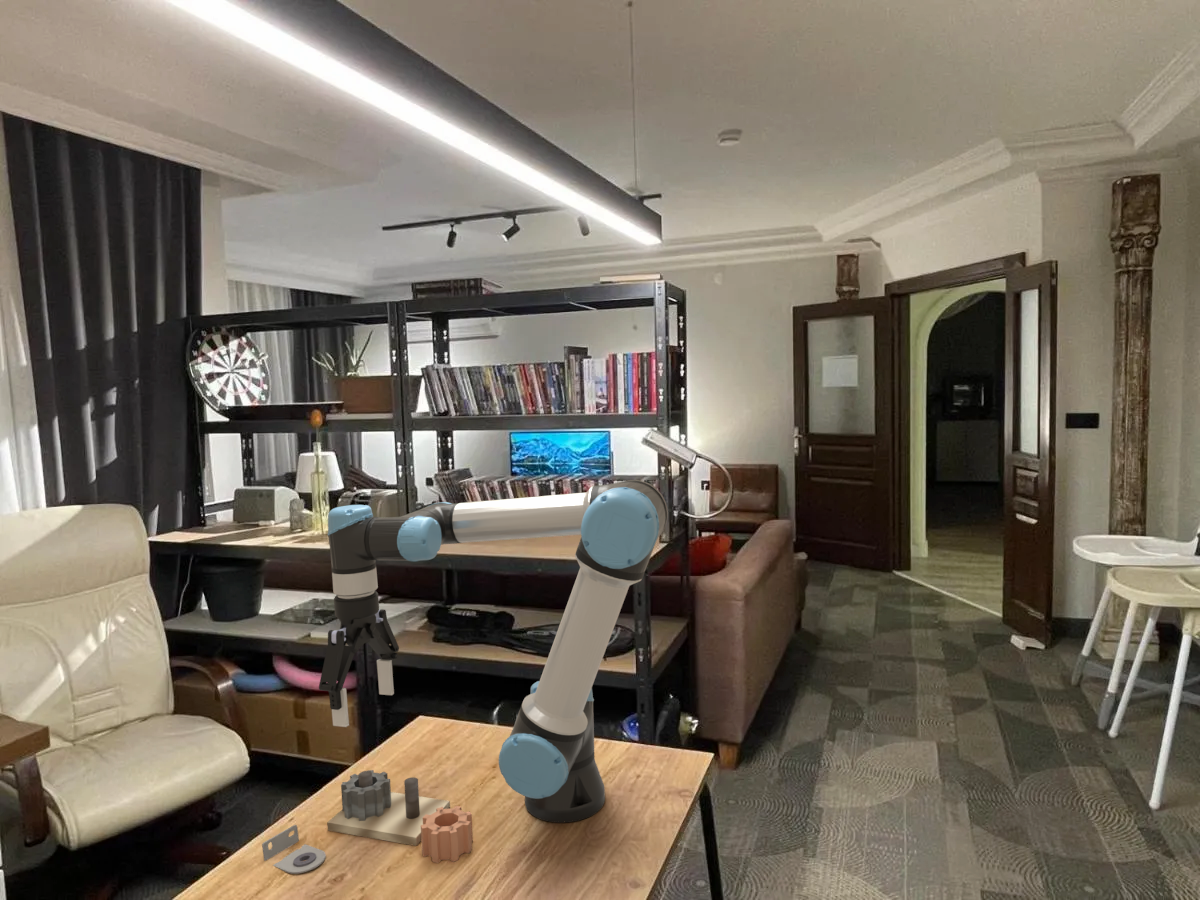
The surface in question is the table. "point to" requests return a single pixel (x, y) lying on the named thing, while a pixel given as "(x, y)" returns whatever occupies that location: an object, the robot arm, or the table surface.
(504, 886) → the table surface
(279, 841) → the bracket
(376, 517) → the robot arm
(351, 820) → the gear board
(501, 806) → the table surface
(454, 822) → the gear
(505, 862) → the table surface
